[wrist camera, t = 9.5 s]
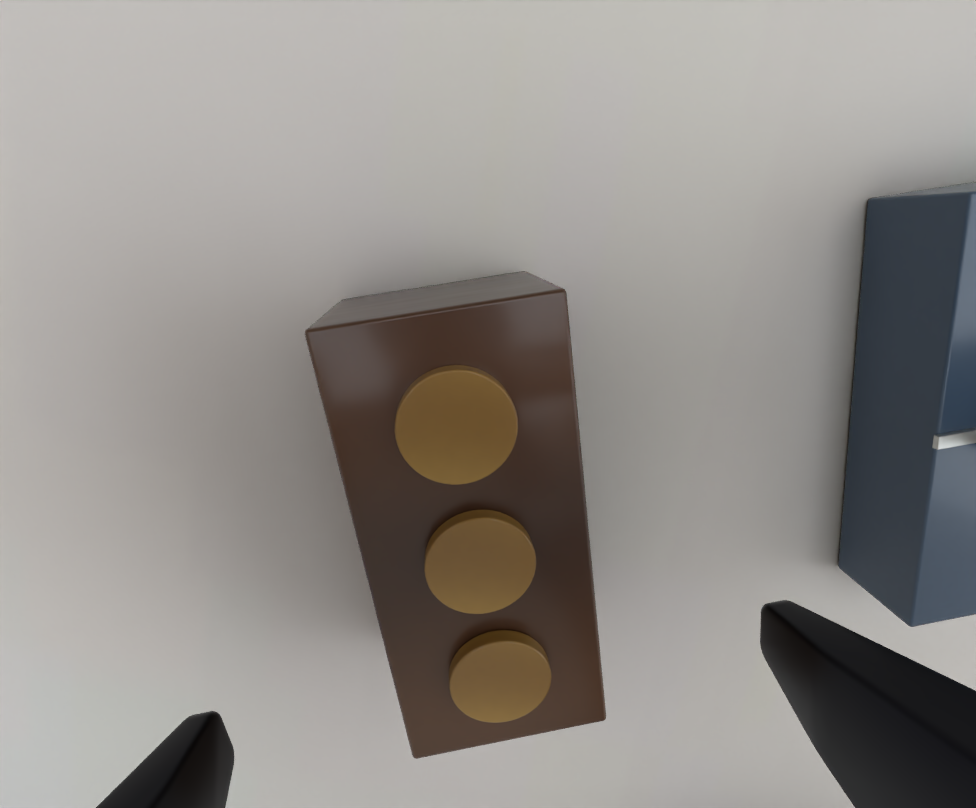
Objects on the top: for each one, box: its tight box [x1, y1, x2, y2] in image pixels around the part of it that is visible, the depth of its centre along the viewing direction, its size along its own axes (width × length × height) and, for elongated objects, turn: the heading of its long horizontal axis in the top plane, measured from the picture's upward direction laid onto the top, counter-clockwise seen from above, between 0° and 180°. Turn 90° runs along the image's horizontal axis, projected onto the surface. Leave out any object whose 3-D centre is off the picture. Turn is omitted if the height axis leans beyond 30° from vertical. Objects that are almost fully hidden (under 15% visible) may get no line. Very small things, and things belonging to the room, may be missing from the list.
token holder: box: [305, 271, 606, 759], centre depth 14 cm, size 11×5×5 cm, turn 8°
